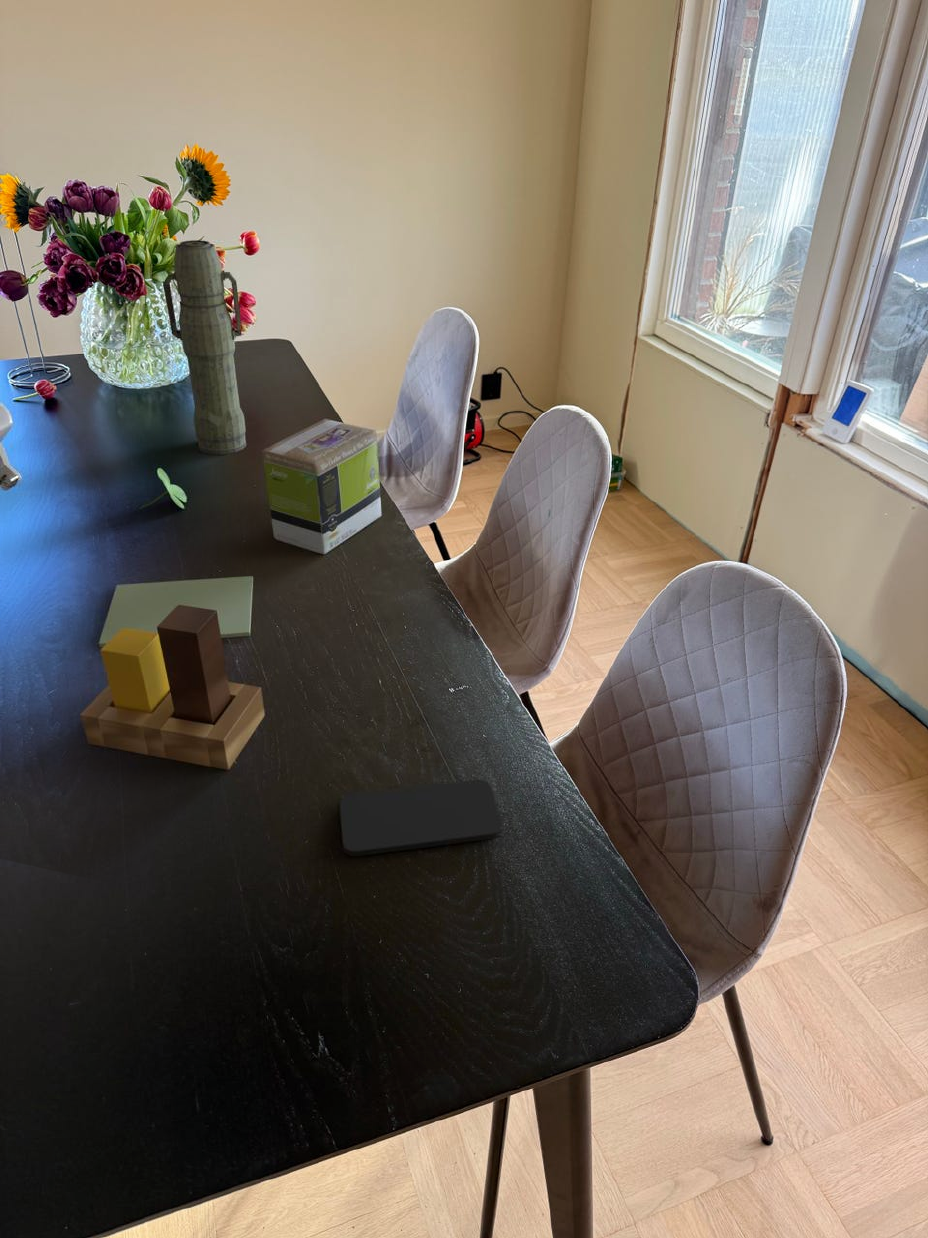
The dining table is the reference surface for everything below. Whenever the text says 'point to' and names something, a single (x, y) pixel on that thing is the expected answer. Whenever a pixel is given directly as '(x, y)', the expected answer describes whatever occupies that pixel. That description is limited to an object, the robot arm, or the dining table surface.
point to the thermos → (208, 344)
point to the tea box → (323, 484)
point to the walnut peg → (195, 664)
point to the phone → (418, 817)
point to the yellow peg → (136, 670)
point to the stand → (176, 729)
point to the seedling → (170, 490)
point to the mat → (159, 599)
